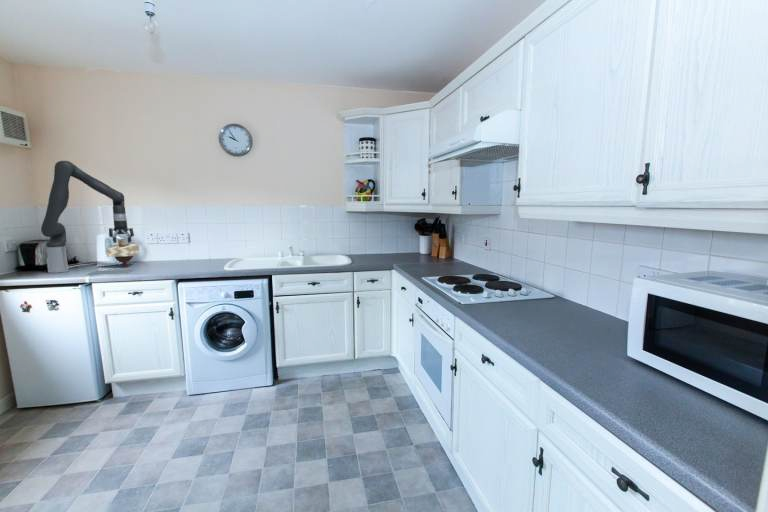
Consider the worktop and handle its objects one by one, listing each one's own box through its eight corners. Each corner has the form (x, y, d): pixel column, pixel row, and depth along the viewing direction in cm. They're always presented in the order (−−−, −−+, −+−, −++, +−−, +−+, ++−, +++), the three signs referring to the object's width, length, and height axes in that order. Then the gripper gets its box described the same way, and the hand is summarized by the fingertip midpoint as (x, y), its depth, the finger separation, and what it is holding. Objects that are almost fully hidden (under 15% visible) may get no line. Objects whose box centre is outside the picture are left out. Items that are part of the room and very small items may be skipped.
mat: (84, 275, 223) (84, 275, 223) (96, 271, 237) (96, 270, 237) (127, 274, 230) (127, 273, 230) (136, 270, 244) (136, 269, 244)
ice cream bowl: (117, 267, 254) (115, 246, 251) (135, 266, 258) (133, 246, 256) (113, 269, 244) (111, 248, 242) (132, 268, 249) (130, 247, 247)
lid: (107, 256, 241) (104, 241, 239) (116, 252, 255) (114, 238, 252) (131, 255, 245) (129, 241, 243) (139, 251, 259) (137, 237, 256)
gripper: (105, 220, 240) (108, 243, 243) (129, 220, 244) (131, 243, 247) (110, 219, 248) (113, 242, 250) (133, 219, 252) (136, 241, 254)
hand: (122, 242), depth 248 cm, fingers open, 8 cm apart
